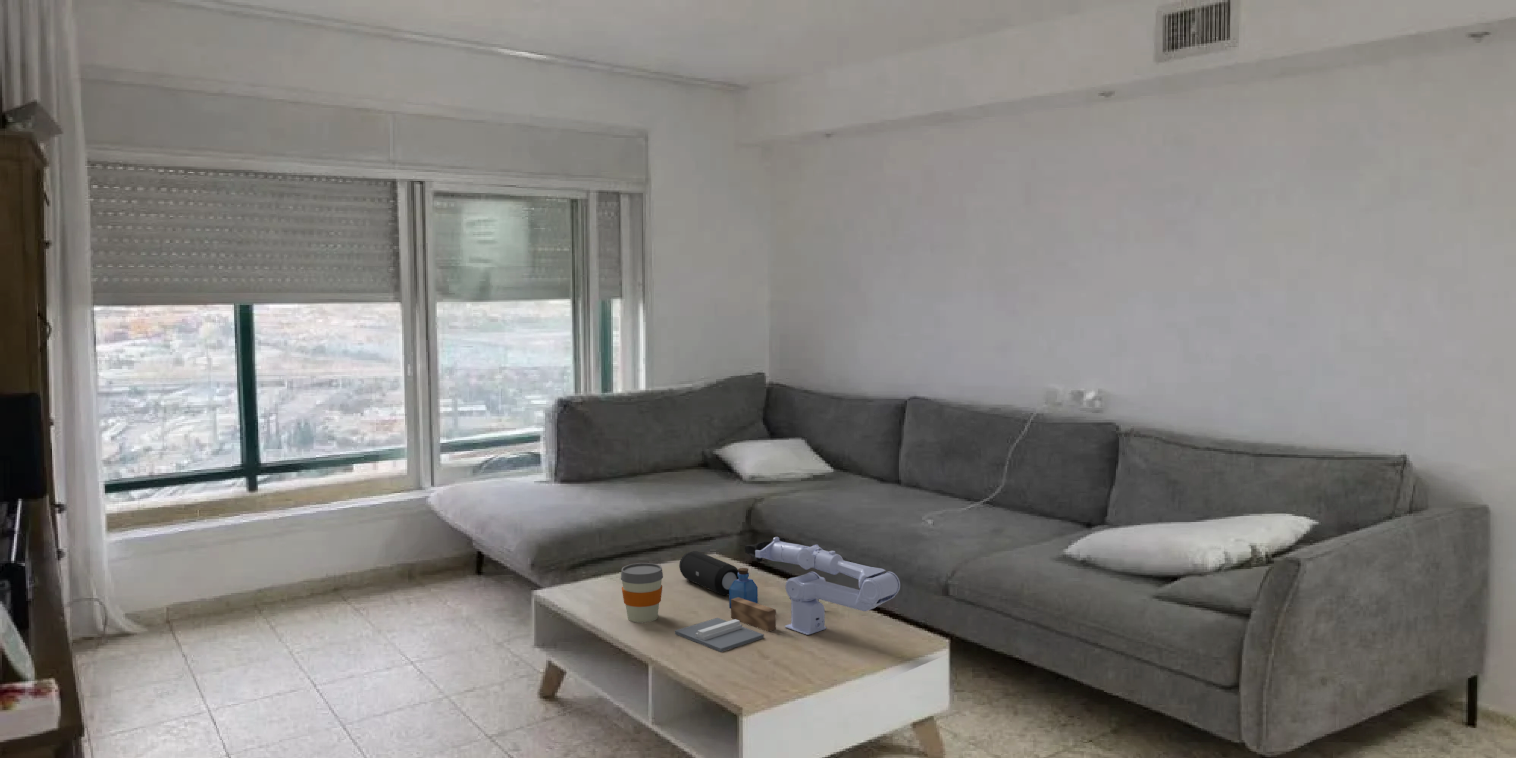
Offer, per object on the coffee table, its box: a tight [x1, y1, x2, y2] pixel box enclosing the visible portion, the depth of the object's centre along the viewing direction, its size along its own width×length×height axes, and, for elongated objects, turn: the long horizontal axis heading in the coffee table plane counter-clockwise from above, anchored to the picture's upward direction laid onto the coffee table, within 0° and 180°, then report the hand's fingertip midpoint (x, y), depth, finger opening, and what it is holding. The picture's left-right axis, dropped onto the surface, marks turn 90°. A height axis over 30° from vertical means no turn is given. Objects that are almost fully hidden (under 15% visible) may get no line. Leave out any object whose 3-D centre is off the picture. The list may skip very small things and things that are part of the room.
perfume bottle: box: [728, 567, 759, 609], centre depth 320 cm, size 6×6×12 cm
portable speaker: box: [678, 550, 739, 596], centre depth 341 cm, size 26×10×10 cm, turn 35°
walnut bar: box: [730, 597, 777, 632], centre depth 305 cm, size 16×3×6 cm, turn 43°
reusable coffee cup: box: [620, 562, 664, 624], centre depth 311 cm, size 13×13×15 cm
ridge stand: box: [674, 617, 765, 653], centre depth 295 cm, size 20×16×3 cm
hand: (754, 547), depth 313 cm, fingers open, 7 cm apart
